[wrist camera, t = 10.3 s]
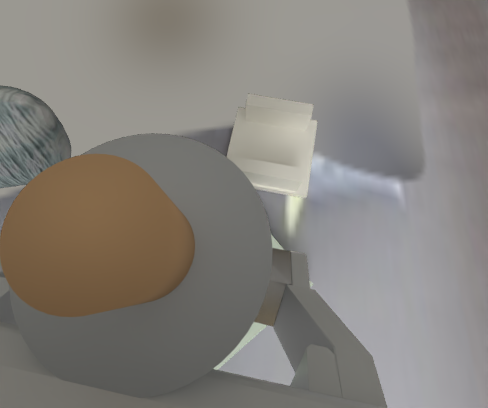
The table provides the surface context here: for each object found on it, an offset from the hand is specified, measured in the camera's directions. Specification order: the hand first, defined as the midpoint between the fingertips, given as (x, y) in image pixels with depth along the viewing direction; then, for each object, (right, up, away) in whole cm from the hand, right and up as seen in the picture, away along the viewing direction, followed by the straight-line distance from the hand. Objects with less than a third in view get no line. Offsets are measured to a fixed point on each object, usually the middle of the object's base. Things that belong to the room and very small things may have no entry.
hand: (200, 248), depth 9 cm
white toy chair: (+4, +5, +17) cm, 18 cm away
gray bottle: (0, -3, +6) cm, 7 cm away
